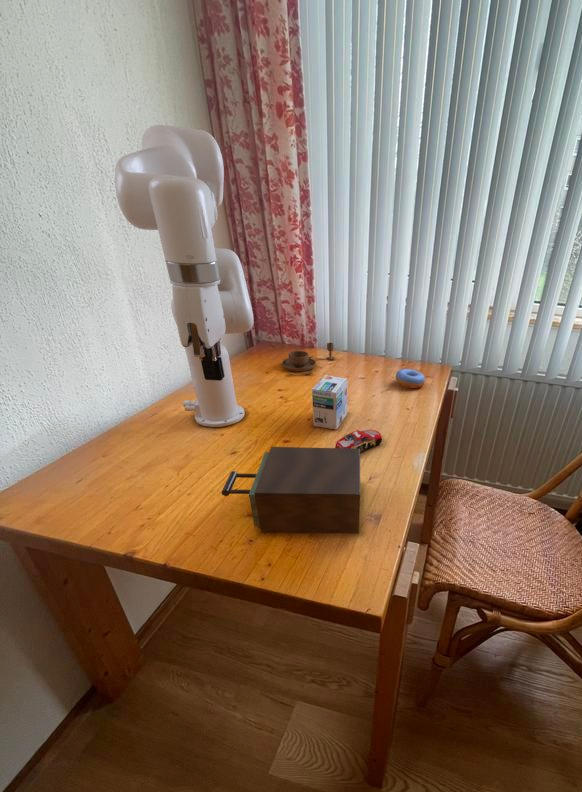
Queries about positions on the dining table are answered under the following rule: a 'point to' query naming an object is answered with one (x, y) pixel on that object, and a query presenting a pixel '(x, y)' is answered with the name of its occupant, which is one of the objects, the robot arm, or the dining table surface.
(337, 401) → the light bulb box
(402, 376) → the doughnut
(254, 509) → the drawer
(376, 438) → the race car
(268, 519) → the cabinet
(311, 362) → the place setting
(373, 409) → the dining table surface
